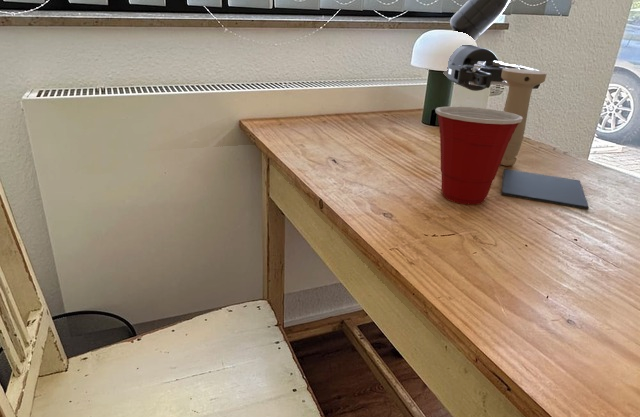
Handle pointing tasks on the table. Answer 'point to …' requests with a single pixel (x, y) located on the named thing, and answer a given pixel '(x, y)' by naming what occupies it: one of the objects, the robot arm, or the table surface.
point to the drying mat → (543, 188)
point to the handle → (518, 104)
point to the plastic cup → (472, 150)
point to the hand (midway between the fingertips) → (513, 81)
